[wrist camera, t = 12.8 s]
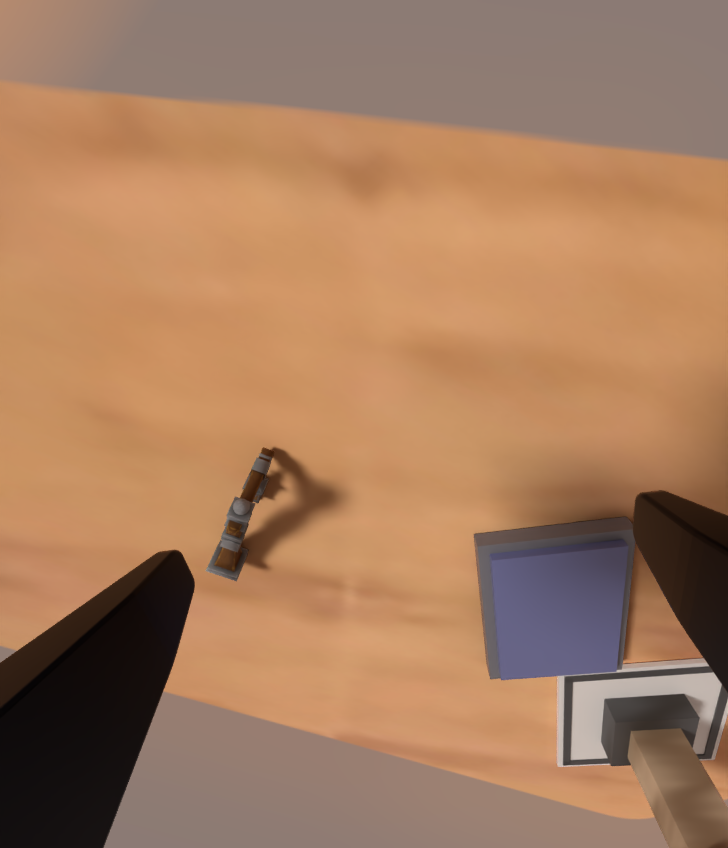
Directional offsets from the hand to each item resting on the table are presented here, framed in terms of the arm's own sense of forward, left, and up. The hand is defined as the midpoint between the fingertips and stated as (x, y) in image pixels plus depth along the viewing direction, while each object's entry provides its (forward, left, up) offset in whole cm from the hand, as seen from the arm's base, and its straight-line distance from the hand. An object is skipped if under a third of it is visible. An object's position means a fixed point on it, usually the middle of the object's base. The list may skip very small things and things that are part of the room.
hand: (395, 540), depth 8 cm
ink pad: (-7, +16, -12) cm, 21 cm away
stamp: (-13, +28, -12) cm, 33 cm away
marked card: (-13, +28, -12) cm, 33 cm away
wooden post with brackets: (+9, +7, -12) cm, 17 cm away
